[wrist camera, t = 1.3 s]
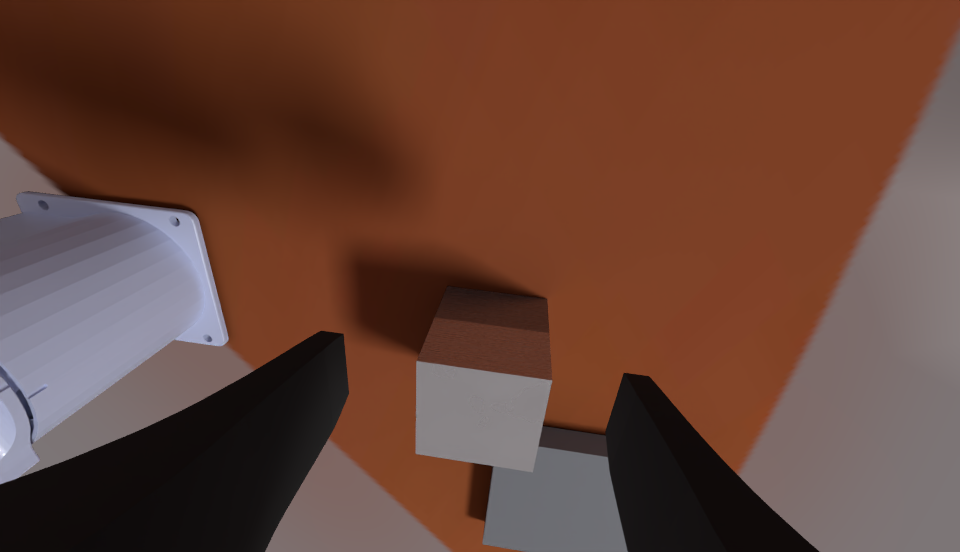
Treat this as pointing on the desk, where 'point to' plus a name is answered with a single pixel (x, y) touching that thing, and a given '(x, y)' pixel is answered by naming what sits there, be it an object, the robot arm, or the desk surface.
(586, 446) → the stand
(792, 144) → the desk surface
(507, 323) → the block
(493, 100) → the desk surface
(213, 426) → the robot arm
